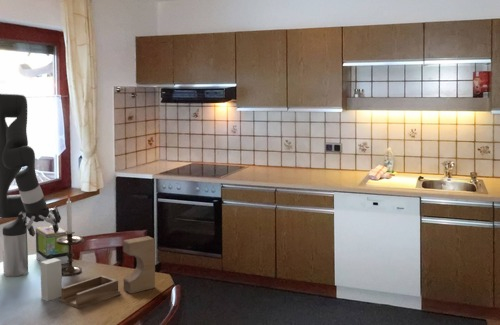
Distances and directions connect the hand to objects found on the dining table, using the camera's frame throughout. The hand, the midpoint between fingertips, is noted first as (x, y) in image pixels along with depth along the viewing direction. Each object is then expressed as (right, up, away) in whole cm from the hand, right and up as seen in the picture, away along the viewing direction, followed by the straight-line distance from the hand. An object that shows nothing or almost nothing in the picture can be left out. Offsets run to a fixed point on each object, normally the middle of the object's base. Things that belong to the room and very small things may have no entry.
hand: (45, 233), depth 201 cm
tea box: (-11, -18, +38) cm, 44 cm away
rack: (+18, -23, -2) cm, 30 cm away
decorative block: (+35, -23, +7) cm, 42 cm away
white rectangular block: (+4, -23, -3) cm, 24 cm away
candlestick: (+2, -20, +24) cm, 31 cm away
